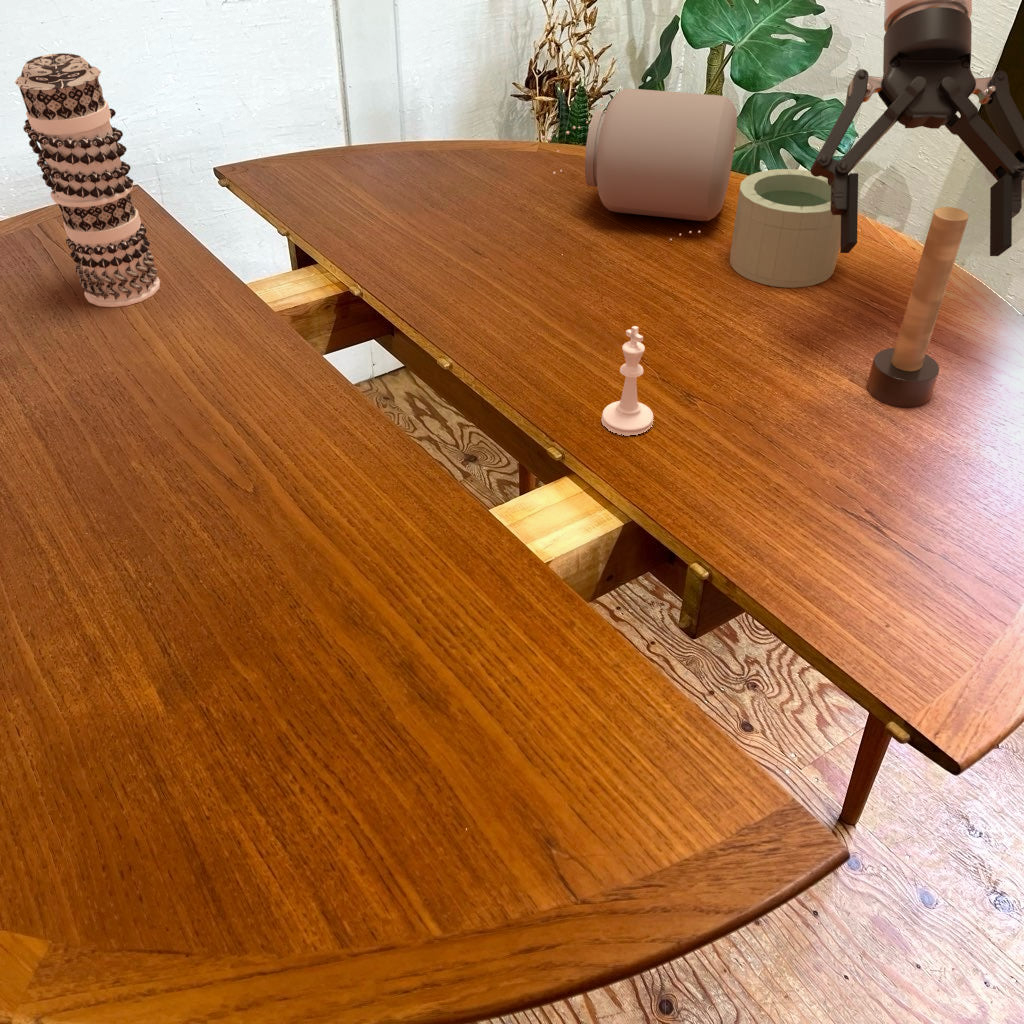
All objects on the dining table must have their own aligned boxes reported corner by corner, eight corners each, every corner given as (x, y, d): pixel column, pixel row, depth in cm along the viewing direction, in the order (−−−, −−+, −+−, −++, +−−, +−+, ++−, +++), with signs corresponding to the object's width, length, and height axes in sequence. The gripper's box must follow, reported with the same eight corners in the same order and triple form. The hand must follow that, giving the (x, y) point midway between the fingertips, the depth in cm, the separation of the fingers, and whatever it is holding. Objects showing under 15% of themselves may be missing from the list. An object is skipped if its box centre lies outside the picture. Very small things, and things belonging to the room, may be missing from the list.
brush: (928, 377, 95) (984, 202, 84) (933, 411, 91) (993, 231, 79) (865, 370, 96) (912, 196, 85) (867, 403, 92) (917, 224, 80)
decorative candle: (77, 280, 113) (1, 54, 97) (158, 265, 116) (96, 42, 100) (84, 315, 107) (3, 79, 91) (169, 298, 110) (105, 66, 93)
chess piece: (627, 399, 93) (634, 307, 86) (664, 422, 90) (675, 328, 84) (590, 419, 91) (595, 326, 84) (627, 443, 88) (635, 348, 81)
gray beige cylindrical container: (834, 246, 118) (850, 173, 112) (834, 292, 109) (852, 216, 103) (733, 236, 120) (743, 165, 114) (725, 281, 111) (736, 206, 105)
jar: (700, 225, 111) (506, 163, 117) (700, 274, 125) (527, 216, 131) (762, 80, 112) (567, 25, 118) (755, 145, 127) (582, 93, 132)
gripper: (1045, 50, 92) (1044, 266, 91) (782, 48, 94) (777, 260, 92) (1087, 3, 85) (1087, 237, 83) (800, 1, 86) (795, 232, 85)
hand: (924, 250), depth 88 cm, fingers open, 13 cm apart
